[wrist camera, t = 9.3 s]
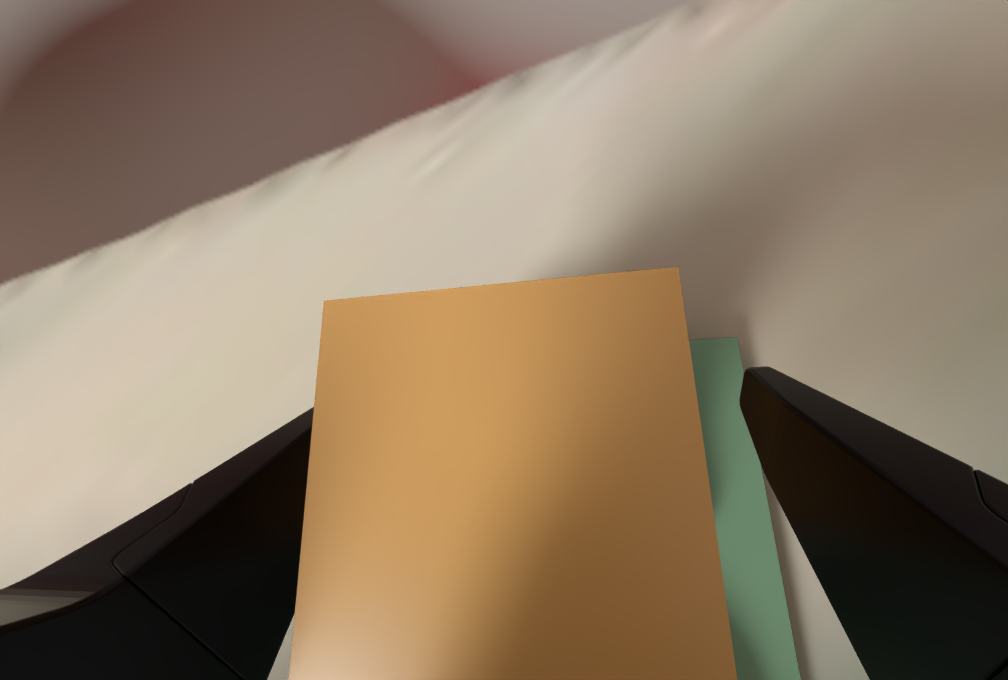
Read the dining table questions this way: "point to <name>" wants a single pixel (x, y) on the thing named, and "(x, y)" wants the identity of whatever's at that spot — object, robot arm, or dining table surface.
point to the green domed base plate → (742, 519)
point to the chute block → (510, 489)
